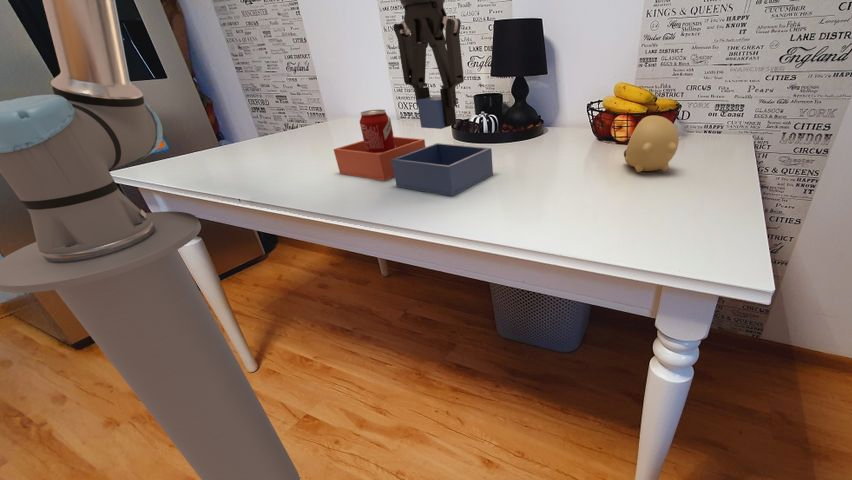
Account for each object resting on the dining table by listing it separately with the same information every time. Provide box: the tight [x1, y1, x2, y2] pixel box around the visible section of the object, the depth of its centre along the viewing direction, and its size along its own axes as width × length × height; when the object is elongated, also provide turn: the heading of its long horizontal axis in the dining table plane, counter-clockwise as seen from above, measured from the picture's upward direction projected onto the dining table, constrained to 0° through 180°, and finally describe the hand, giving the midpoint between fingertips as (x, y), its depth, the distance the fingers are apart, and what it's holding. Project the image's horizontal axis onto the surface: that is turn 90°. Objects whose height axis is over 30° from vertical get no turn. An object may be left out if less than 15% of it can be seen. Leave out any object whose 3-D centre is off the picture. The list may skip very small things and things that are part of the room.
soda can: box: [359, 109, 396, 154], centre depth 91 cm, size 7×7×12 cm
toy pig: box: [623, 115, 680, 173], centre depth 81 cm, size 10×12×11 cm
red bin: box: [333, 136, 426, 182], centre depth 93 cm, size 15×15×6 cm
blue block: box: [416, 95, 458, 130], centre depth 77 cm, size 5×5×5 cm
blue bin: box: [391, 142, 494, 197], centre depth 83 cm, size 15×15×6 cm
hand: (438, 124), depth 78 cm, fingers closed on blue block, 5 cm apart
